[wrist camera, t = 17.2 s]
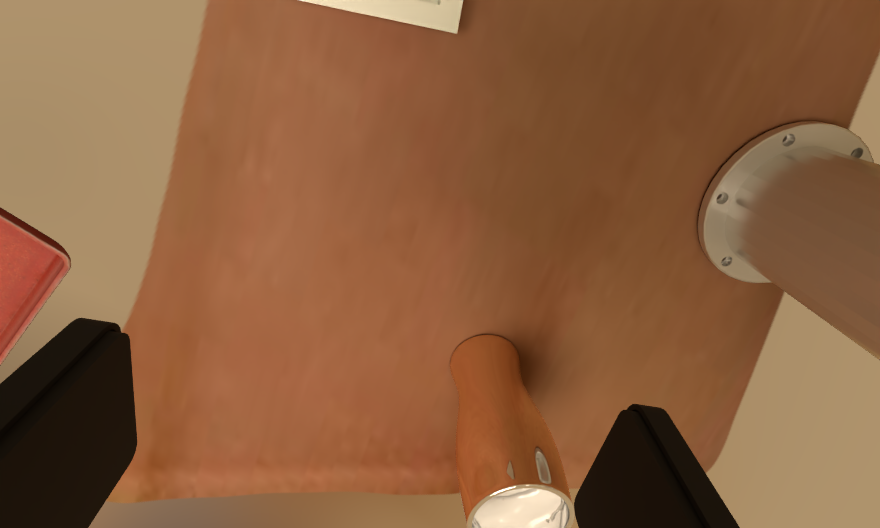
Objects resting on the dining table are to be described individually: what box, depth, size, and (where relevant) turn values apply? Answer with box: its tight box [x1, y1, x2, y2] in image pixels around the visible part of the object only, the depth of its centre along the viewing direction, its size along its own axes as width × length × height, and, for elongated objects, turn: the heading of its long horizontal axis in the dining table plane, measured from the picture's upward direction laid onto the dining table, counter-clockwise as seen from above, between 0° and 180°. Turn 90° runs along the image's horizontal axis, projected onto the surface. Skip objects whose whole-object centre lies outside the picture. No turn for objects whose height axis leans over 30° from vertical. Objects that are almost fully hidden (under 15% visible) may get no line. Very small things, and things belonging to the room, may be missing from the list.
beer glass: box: [450, 335, 575, 528], centre depth 35 cm, size 7×7×15 cm
